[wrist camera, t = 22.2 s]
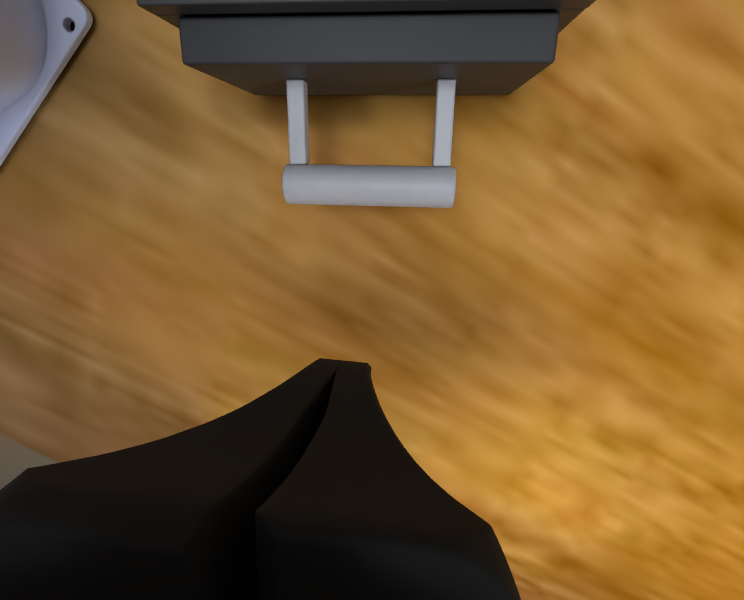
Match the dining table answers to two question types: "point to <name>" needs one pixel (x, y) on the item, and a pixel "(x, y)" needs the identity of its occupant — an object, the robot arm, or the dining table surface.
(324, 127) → the dining table surface
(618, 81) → the dining table surface
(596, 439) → the dining table surface
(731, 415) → the dining table surface
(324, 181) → the pull-out drawer
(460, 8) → the black drawer box
